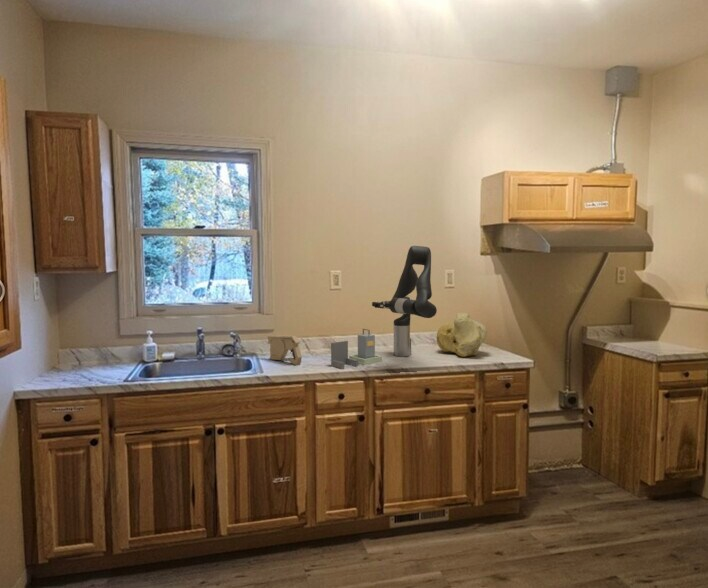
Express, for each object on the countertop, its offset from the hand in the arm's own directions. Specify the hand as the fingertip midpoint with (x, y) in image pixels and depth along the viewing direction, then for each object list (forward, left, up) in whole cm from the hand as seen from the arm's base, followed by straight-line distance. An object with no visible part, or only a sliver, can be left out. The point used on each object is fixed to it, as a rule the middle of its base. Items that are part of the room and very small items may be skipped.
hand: (378, 303), depth 258 cm
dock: (+15, -9, -32) cm, 36 cm away
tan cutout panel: (+33, -39, -32) cm, 60 cm away
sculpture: (-55, +9, -32) cm, 64 cm away
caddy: (0, -10, -32) cm, 33 cm away
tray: (0, -11, -32) cm, 34 cm away
